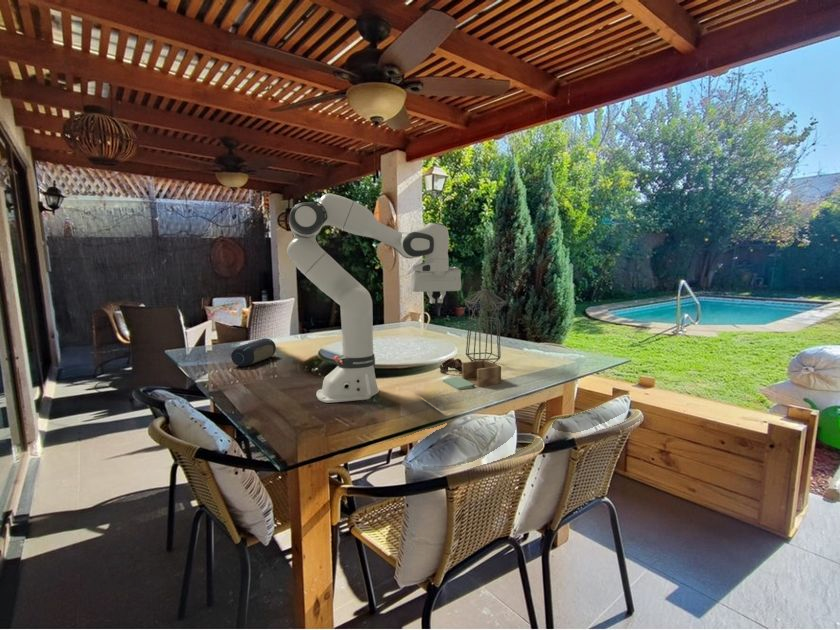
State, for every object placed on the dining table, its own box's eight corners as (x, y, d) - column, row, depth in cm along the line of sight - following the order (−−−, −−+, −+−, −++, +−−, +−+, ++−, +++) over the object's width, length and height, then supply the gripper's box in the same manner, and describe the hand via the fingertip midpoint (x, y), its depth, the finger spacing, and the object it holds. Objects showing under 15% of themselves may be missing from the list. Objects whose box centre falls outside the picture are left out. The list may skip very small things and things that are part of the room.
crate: (478, 390, 158) (478, 369, 157) (461, 382, 169) (462, 362, 168) (500, 387, 163) (501, 366, 161) (483, 379, 173) (483, 359, 172)
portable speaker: (248, 369, 194) (246, 347, 193) (229, 367, 196) (227, 346, 195) (279, 356, 218) (278, 337, 217) (262, 355, 220) (261, 336, 219)
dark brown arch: (461, 380, 173) (450, 363, 172) (443, 387, 179) (433, 370, 178) (471, 366, 183) (461, 350, 182) (454, 373, 188) (445, 357, 188)
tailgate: (474, 387, 158) (458, 391, 155) (458, 379, 168) (443, 382, 165) (474, 384, 158) (458, 387, 155) (458, 376, 168) (443, 379, 165)
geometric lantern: (460, 363, 199) (461, 288, 195) (491, 361, 203) (492, 288, 199) (474, 371, 184) (476, 290, 180) (507, 369, 188) (509, 289, 184)
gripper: (456, 266, 169) (456, 301, 171) (409, 266, 160) (408, 303, 162) (464, 267, 163) (464, 303, 165) (415, 266, 155) (415, 305, 157)
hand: (436, 303), depth 164 cm, fingers closed
